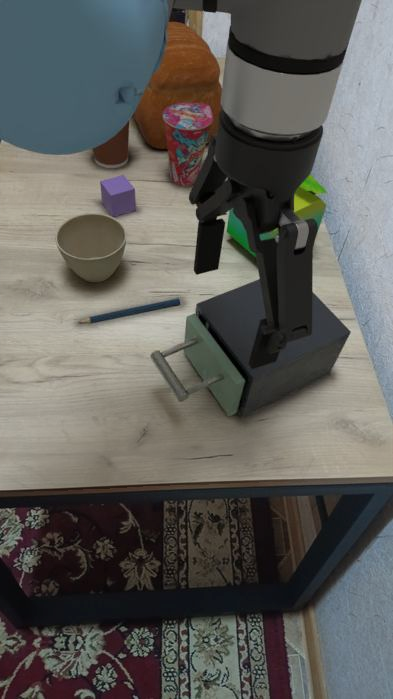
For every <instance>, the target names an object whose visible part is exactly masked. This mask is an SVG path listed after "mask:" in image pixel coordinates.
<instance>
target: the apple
mask: <svg viewBox="0 0 393 699" xmlns="http://www.w3.org/2000/svg"><path fill="white" fill-rule="evenodd" d="M328 193H329V192H328V191H327V190H326V189H325V188H324V187H323V186H322V184H320V183H319V181H318V180H317V179H316V178H315V177H314V176H313V175H312V174H311V173H310V175H309V176H308V177H307V178H306V180H305V181H304V182H303V183H302V184H301V185H300V186H299V187H298V189H297V190H296V191H295V195H294V213H295V214H296V215H297V216H298V217H299V218H300V219H302V220H307V219H311V218H313V219H315V221H316V222H317V226H318V230H317V234H316V237H317V236H318V233H319V230H320V227H321V224H322V221H323V218H324V216H325V211H326V208H327V204H326V203H325V202H324V200H323V199H322V198H320V196H318V195H322V194H328ZM225 232H226V234H228V235H229V236H230V237H231V238H233V239H234V240H235V241H236V242H237V243H238V244H240V245H241V246H242V247H243V248H244V249H245V250H246V251H247V252H249V253H250V254H251V255H252V256H253V257H254V258H256V254H255V252H253V251H251V250H250V249H249V245H248V239H247V233H246V230H245V228H244V226H243V224H242V222H241V221H240V220H239V219H238V218H237V217H236V216H235V214H234V213H233V208H232V209H231V210H229V211H228V218H227V225H226V231H225ZM278 234H279V231H278V228H277V229H275V230H273V231H272V232H268V233H264V234H260V239H261V241H262V240H266V239H270V238H274V237H275V236H276V235H278Z"/></svg>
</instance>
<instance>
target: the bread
mask: <svg viewBox="0 0 393 699" xmlns="http://www.w3.org/2000/svg"><path fill="white" fill-rule="evenodd" d="M167 37H168V39H167V44H166V48H165V52H164V55H163V58H162V61H161V64H160V67H159V69H158V70H157V71H156V72H155V73H154V74H153V75H152V77H151V79H150V82H149V84H148V86H147V88H146V90H145V91H144V93H143V95H142V97H141V99H140V102H139V104H138V106H137V109H136V110H135V112H134V114H133V115H132V117H133V118H134V120H135V122H136V123H137V124H138V127H139V130H140V132H141V134H142V136H143V138H144V140H145V142H146V143H147V144H148V145H149V146H150V147H152V148H155V149H160V150H161V149H162V150H168V146H167V137H166V129H165V121H164V119H163V111H164V110H165V109H166V108H167V107H169V106H171V105H174V104H178V103H201V104H206V105H209V106H210V107H211V111H212V115H213V121H212V123H211V125H210V129H209V133H208V137H207V141H206V144H207V143H208V144H209V141H210V136H211V135H213V134H217V130H218V121H219V114H220V112H221V110H222V106H221V104H220V102H221V93H222V85H221V82H220V76H221V68H220V65H219V62H218V60H217V58H216V56H215V54H214V53H213V52H212V50H211V48H210V46H209V44H208V43H207V41H205V39H204V38H202V37H201V36H200V35H199V34H198V33H197V32H196V31H195V30H194V29H193V28H191V27H190V26H189V25H187V24H185V23H183V22H177V21H169V22H168V26H167Z"/></svg>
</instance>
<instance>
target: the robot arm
mask: <svg viewBox="0 0 393 699" xmlns="http://www.w3.org/2000/svg"><path fill="white" fill-rule="evenodd" d="M362 1H363V0H0V140H1V141H3V142H5V143H7V144H9V145H11V146H14V147H17V148H19V149H22V150H25V151H28V152H33V153H37V154H41V155H50V156H51V155H53V156H65V155H66V156H68V155H73V154H80V153H83V152H86V151H91V150H93V148H95V147H97V146H99V145H101V144H103V143H105V142H107V141H108V140H110V139H111V138H112V137H114V136H115V135H116V134H117V133H118V132H119V131H120V130H121V129H122V128H123V127H124V126H125V125H126V124H127V122H128V121H129V122H130V120H131V118H132V117H133V114H134V112H135V110H136V109H137V106H138V104H139V102H140V99H141V97H142V95H143V93H144V91H145V90H146V88H147V86H148V84H149V82H150V79H151V77H152V75H153V74H154V73H155V72H156V71H157V70H158V69H159V67H160V64H161V61H162V58H163V55H164V52H165V48H166V44H167V39H168V37H167V26H168V22H170V18H171V14H172V11H173V9H179V10H187V11H194V12H195V11H197V12H204V13H211V14H212V13H213V14H216V13H223V14H224V13H225V14H229V15H230V25H229V28H228V29H229V30H228V38H227V43H226V49H225V50H226V51H225V59H224V67H223V75H222V76H223V78H222V85H221V87H222V93H221V102H220V104H221V106H222V110H221V112H220V114H219V121H218V130H217V134H213V135H211V136H210V141H209V142H208V147H207V148H208V149H207V154H206V156H205V158H204V161H203V162H202V164H201V167H200V171H199V174H198V176H197V178H196V180H195V182H194V184H193V185H192V186H191V189H190V190H189V194H188V200H189V203H190V204H191V205H195V206H196V209H195V217H196V220H197V221H198V223H197V232H196V241H195V253H194V261H193V262H194V263H193V273H194V274H195V275H196V276H197V275H201V274H204V273H209V272H213V271H217V270H219V266H220V260H221V254H222V249H223V248H222V246H223V240H224V234H225V226H226V221H225V220H224V219H223V218H222V216H226V215H228V213H227V212H229V210H231V209H232V208H233V213H234V214H235V216H236V217H237V218H238V219H239V220H240V221H241V222H242V224H243V226H244V228H245V230H246V233H247V239H248V245H249V249H250V250H251V251H253V252H255V254H256V257H255V258H256V265H257V270H258V277H259V279H260V283H261V289H262V295H263V301H264V308H265V314H266V319H262V320H260V324H259V327H258V331H257V334H256V338H255V341H254V345H253V349H252V352H251V356H250V359H249V363H248V364H249V365H250V367H251V369H254V368H258V367H261V366H264V365H267V364H270V363H273V362H276V361H277V358H278V355H279V352H280V351H281V350H283V349H285V347H286V344H287V342H291V341H294V340H297V339H300V338H304V337H307V336H310V335H311V334H312V292H313V283H314V282H313V280H314V279H313V278H314V277H313V273H314V272H313V270H314V269H313V265H314V261H313V260H314V256H313V255H314V254H313V253H314V252H313V251H314V246H315V242H316V238H317V236H316V234H317V235H318V233H317V230H318V226H317V222H316V221H315V219H313V218H311V219H307V220H302V219H300V218H299V217H298V216H297V215H296V214H295V213H294V195H295V191H296V190H297V189H298V187H299V186H300V185H301V184H302V183H303V182H304V181H305V180H306V178H307V177H308V176H309V175H310V174H311V173H312V171H313V169H314V165H315V161H316V158H317V155H318V152H319V148H320V145H321V141H322V138H323V135H324V127H323V125H324V124H325V122H326V120H327V118H328V116H329V112H330V109H331V106H332V102H333V98H334V96H335V93H336V92H335V91H336V88H337V85H338V81H339V78H340V75H341V71H342V68H343V65H344V60H345V58H346V54H347V50H348V47H349V44H350V40H351V37H352V33H353V31H354V27H355V23H356V20H357V17H358V14H359V10H360V8H361V4H362ZM218 217H221V218H218ZM277 228H278V231H279V234H278V235H276V236H275V237H274V238H270V239H266V240H262V241H261V239H260V234H264V233H268V232H272V231H273V230H275V229H277ZM318 231H319V230H318Z"/></svg>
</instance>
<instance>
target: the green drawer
mask: <svg viewBox="0 0 393 699" xmlns="http://www.w3.org/2000/svg"><path fill="white" fill-rule="evenodd" d="M185 318H186V319H185V331H184V342H182V343H179V344H177V345H175V346H173V347H169V348H168V349H165V350H163V351H160V350H155V351H152V352H151V354H150V355H149V359H150V360H151V362H152V363H153V364H154V366H155V367H156V369H157V371H158V372H159V374H160V375H161V377H162V378H163V380H164V382H165V383H166V384H167V386H168V388H169V389H170V391H171V392H172V394H173V395H174V397H175V398H176V400H177V401H178V403H183V402H185V401H186V400H188V398H189V397H190V395H193V394H195V393H198V392H199V391H202V390H203V389H206V388H207V387H208V389H209V391H210V392H211V393H212V395H213V396H214V397H215V399H216V400H217V402H218V403H219V404H220V406H221V407H222V409H223V411H224V412H225V413H226V415H227V417H231V416H233V415H235V414H238V412H237V410H238V406H239V402H240V400H241V401H242V399H243V395H244V392H245V388H246V385H247V381H248V376H247V374H246V373H245V372H244V370H243V369H242V368H241V366H240V365H239V364H238V362H237V361H236V360H235V359H234V357H233V356H232V355H231V353H230V352H229V351H228V349H227V348H226V347H225V345H224V344H223V343H222V341H221V340H220V339H219V337H218V336H217V335H216V334H215V332H214V331H213V330H212V328H211V327H210V326H209V324H208V323H207V322H206V323H205V326H204V325H203V324H202V322H201V321H200V320H199V318H198V317H197V316H196V314H195V312H194V313H192V314H189V315H187V316H186V317H185ZM181 351H183V353H184V354H185V356H186V357H187V359H188V360H189V362H190V363H191V364H192V366H193V367H194V369H195V370H196V371H197V373H198V375H199V376H200V377H201V379H202V380H203V381H201V382H199V383H196V384H194V385H192V386H190V387H187V388H185V387H184V385H183V384H182V382H181V381H180V379H179V377H178V376H177V374H175V371H174V370H173V369H172V367H171V366H170V364H169V362H168V361H167V359H166V358H167V357H169V356H173V354H176V353H179V352H181Z"/></svg>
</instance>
